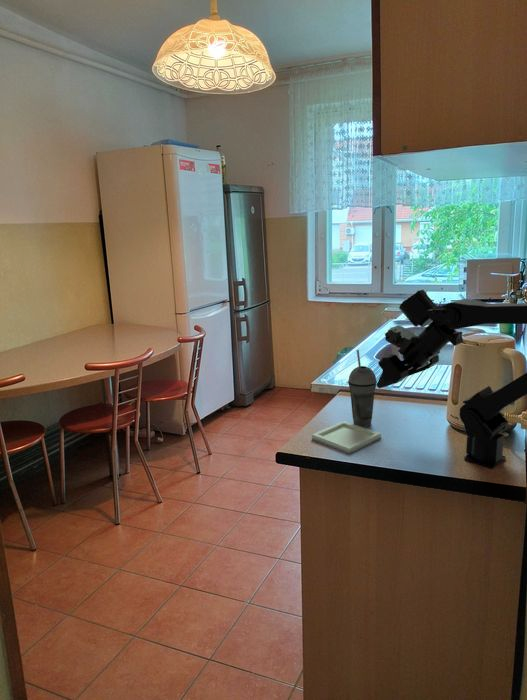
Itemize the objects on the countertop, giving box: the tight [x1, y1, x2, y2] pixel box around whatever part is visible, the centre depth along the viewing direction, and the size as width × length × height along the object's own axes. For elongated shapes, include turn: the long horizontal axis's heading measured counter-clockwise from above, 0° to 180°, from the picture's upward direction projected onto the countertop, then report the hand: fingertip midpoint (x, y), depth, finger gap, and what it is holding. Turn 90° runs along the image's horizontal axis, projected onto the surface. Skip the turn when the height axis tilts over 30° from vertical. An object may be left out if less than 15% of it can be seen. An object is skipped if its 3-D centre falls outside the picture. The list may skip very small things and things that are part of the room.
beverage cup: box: [347, 349, 378, 428], centre depth 135 cm, size 7×7×20 cm
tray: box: [311, 420, 382, 455], centre depth 129 cm, size 12×12×1 cm
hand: (388, 381), depth 129 cm, fingers open, 9 cm apart
